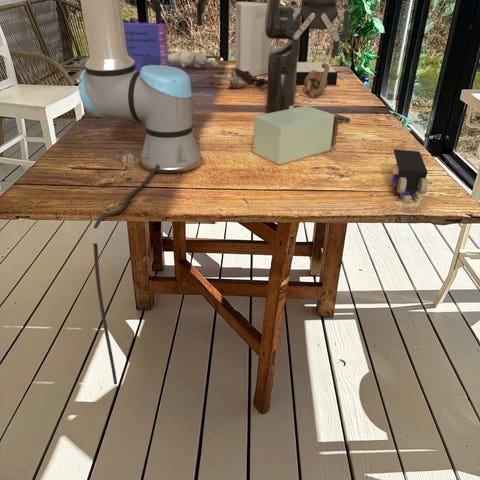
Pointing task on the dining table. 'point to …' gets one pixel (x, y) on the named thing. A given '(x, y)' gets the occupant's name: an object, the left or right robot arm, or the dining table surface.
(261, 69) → the tall white carton
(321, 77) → the anatomical model
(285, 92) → the right robot arm
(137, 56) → the cereal box
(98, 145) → the dining table surface
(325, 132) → the pale green rectangular box
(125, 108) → the left robot arm
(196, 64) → the toy
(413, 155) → the figurine character
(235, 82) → the figurine
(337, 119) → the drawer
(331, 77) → the disc drive
